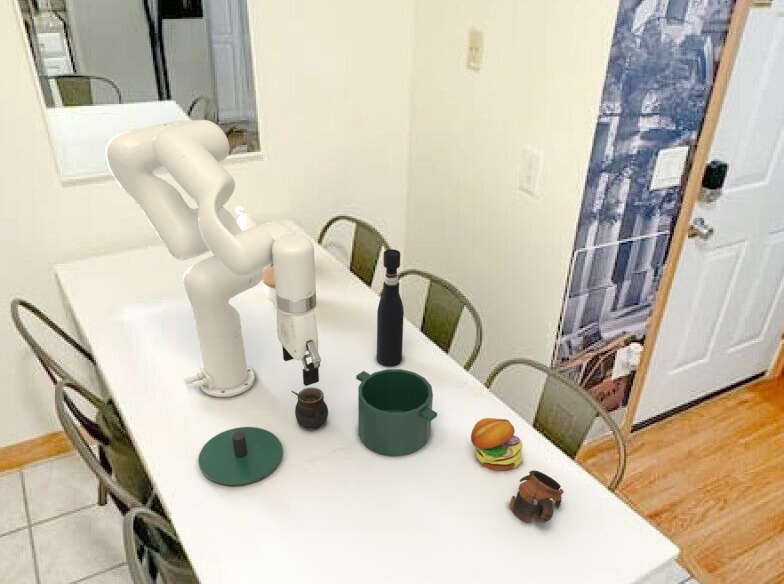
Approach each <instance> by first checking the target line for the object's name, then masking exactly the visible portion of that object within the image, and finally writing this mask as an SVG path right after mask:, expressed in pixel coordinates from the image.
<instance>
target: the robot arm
mask: <svg viewBox="0 0 784 584" xmlns="http://www.w3.org/2000/svg"><path fill="white" fill-rule="evenodd" d="M229 153H230V143H229V139H228V137H227V134H226V133H225V132H224V130H223V129H222V128H221V127H220V126H219V124H217V123H215V122H213V121H211V120H208V119H193V120H192V119H191V120H173V121H170V122H164V123H163V122H162V123H159V124H154V125H149V126H144V127H140V128H135V129H130V130H127V131H124V132H121V133H120V134H117V135H115V136H113V137H112V138H111V139H110V140H109V141H108V142H107V144H106V147H105V158H106V162H107V163H106V164H107V165H108V168H109V171H110V173H111V175H112V177H113V178H114V180H115V181H116V183H117V185H118V186H119V187H120V188H121V189H122V191H124V192H125V194H127V195H128V196H129V198H130V199H131V200H132V201H133V202H134V203H135V204H136V205H137V206H138V207H139V209H140V210H141V211H142V213H143V214H144V215H145V218H146V219H147V220H148V222H149V223H150V225H151V227H152V228H153V230H154V231H155V233H156V234H157V236H158V237H159V239H160V241H161V242H162V243H163V245H164V246H165V248H166V250H167V251H168V252H169V254H170V255H171V256H172V257H173V258H174V259H176V260H178V261H188V260H191V259H195V258H198V257H200V256H202V255H205V254H208V253H212V256H209V257H208V258H204V259H202V260H199V261H198V262H195V263H194V264H192V265H191V266H190V267H188V269H186V270H185V272H184V274H183V276H182V285H183V288H184V291H185V294H186V296H187V299H188V301H189V304H190V307H191V309H192V310H191V311H192V314H193V317H194V318H193V319H194V322H195V328H196V332H197V339H198V343H199V349H200V356H201V360H202V365H200V366H199V369H200V370H199V371H196V373H194V374H190V375H187V376H184V377H182V379H183V382H184V384H185V385H186V386H188V385H191V384H192V386H193V388H194V389H197V388H199V387H200V389H201V391H202V392H203V393H205V394H206V395H209V396H211V397H216V398H230V397H235V396H237V395H241V394H242V393H245V392H246V391H248V390H249V389H250V388H251V387H252V386H253V385H254V384H255V381H256V376H255V372H254V370H253V369H252V368H251V367H250V366H249V365H247V362H246V361H247V359H246V352H245V345H244V337H243V330H242V323H241V316H240V313H239V311H238V310H237V309H236V308H235V307H234V306H233V305H231V304H230V300H231V299H233V298H235V297H236V296H238V295H239V294H241V293H245V292H246V291H248V290H250V289H253V288H254V287H256V286H257V285H259V284H260V283H261V282H262V278H263V272H264V270H263V268H264V267H267V266H269V265H271V266H272V267H274V278H275V290H276V302H277V307H276V334H277V339H278V341H279V343H280V345H281V347H282V360H283V361H284V362H289V361H292V360H296V361H300V360H301V362H302V366H303V368H302V382H303V383H302V384H303V385H304V386H305V387H308V386H311V385H314V384H316V383H317V384H318V383H319V382H320V372H319V371H320V370H319V368H320V367H321V362H322V358H321V355H320V354H319V333H318V325H317V319H316V312H315V310H316V308H317V290H316V289H317V286H316V265H315V247H314V244H313V242H312V240H311V239H310V238H308V237H307V236H305V235H301V234H297V233H295V232H294V231H293V230H291V229H290V228H289V227H288V226H286V224H284V223H282V222H281V221H277V220H271V221H267V222H264V223H262V224H260V225H259V226H256V227H253V228H250V229H248V230H245V231H242V230H241V228H240V226H239V225H238V223H237V220H236V218H235V217H234V215H232V213H231V212H230V211H229V210H228V209H227V208H225V207H224V206H225V205H226V204H227V203H228V201H230V199H231V198H232V195H233V193H234V191H235V187H236V182H235V179H234V178H233V176H232V174H230V173H229V172H228V171H227V170H226V168H225V167H224V166H223V165H222V164H221V163H220V162H223V161H225V160H226V159H227V157H229ZM160 170H165V171H166V172H167V173H168V174H169V175H170V176H171V178H173V180H174V181H175V182H176V183H177V184H178V185H179V186H180V187H181V188H182V189H183V191H185V193H186V194H187V195H188V196H189V197H190V198H191V199H192V200H193V201H194V202H195V204H196V205H197V207H196V208H192V207H190V205H188V203H187V202H186V201H185V199H184V197H183V195H182V194H181V192H180V191H179V190H178V189H177V188H176V187H175V186H174V185H173V184H171V183H169V182H168V181H167V180H165V179H163V178H161V177H159V176H157V175H155V174H154V172H156V171H160ZM306 352H308V353H307V354H306ZM307 358H311V362H309V363H308V361H307Z"/></svg>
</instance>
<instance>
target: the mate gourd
mask: <svg viewBox="0 0 784 584" xmlns="http://www.w3.org/2000/svg"><path fill="white" fill-rule="evenodd" d="M291 393H292V394H293V395H295V396H297V397H296V398H297V402H296V405H295V408H294V410H295V411H294V416H295V419H296V421H297V423H298V425H299V426H300V427H301V428H304V429H307V430H319V429H320V428H322V426H324V425H325V424H326V422H328V416H329V409H328V408H329V407H328V405H327V403H326V401H325V397H324V396H325V395H324V394H325V393H324V392H323V390H321V388H317V387H306V388H303V389H302V390H300V391H299V392H298V393H297V392H295V391H294V390H291Z"/></svg>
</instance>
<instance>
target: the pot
mask: <svg viewBox="0 0 784 584" xmlns="http://www.w3.org/2000/svg"><path fill="white" fill-rule="evenodd" d="M355 380H357V381H359V382H360V384H359V385H358V388H357V391H358V393H357V399H358V401H357V403H358V437H359V440H360V441H361V443H362V445H364V447H365V448H367V449H368V450H369V451H371V452H373V453H375V454H378V455H381V456H386V457H404V456H408V455H411V454H414V453H416V452H418V451H420V450H421V449H422V448H424V447H425V445H427V443H428V441H429V438H430V435H431V427H432V426H431V425H432V421H433V420H434V419H436V418H437V417H438V412H437V411H436V410H434V409H433V401H434V394H433V386H432V384H431V383H430V382H429V381H428V379H426V378H425V377H424V376H422V375H420V374H419V373H416V372H415V371H411V370H406V369H402V368H387V369H382V370H379V371H378V370H377V371H374V372H373V373H371V374H370V373H369V372H367V371H365V370H363V371H361V372H360V373H358V374H356V375H355Z"/></svg>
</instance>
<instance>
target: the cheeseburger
mask: <svg viewBox="0 0 784 584" xmlns="http://www.w3.org/2000/svg"><path fill="white" fill-rule="evenodd" d="M515 431H516V430H515V427H514V424H512V423H511V421H510V420H508V419H507V418H495V417H485V418H482V419H480V420H478V421H477V422H476V423H475V424H474V427H473V428H472V430H471V432H470V433H471V434H470V442H471V443H472V445H473V446H474V448H475V449H474V454H475V457H476V458H477V460H478V461H479V462H480V463H481V465H482V466H484V467H486V468H487V469H490V470H496V471H505V470H511V469H515V468H517V467H518V466H519V465H521V464H522V461H523V456H522V455H523V454H522V453H523V452H522V449H523V442H522V440H521V439H520V437H518V436H517V435H515Z"/></svg>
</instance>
